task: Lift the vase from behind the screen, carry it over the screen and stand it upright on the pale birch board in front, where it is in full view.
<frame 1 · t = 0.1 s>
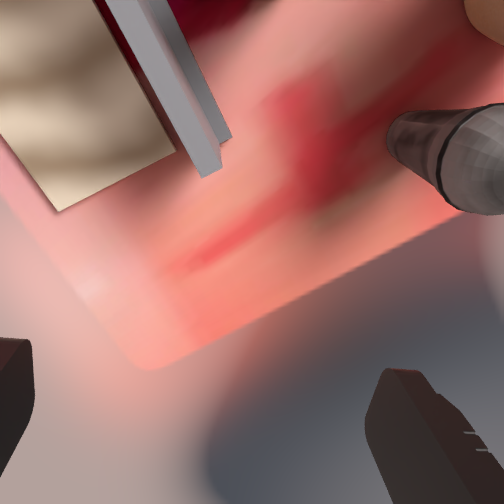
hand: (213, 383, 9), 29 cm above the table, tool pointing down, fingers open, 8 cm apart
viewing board: (48, 69, 32), on the table
screen: (146, 16, 31), on the table
beverage cup: (408, 136, 37), on the table
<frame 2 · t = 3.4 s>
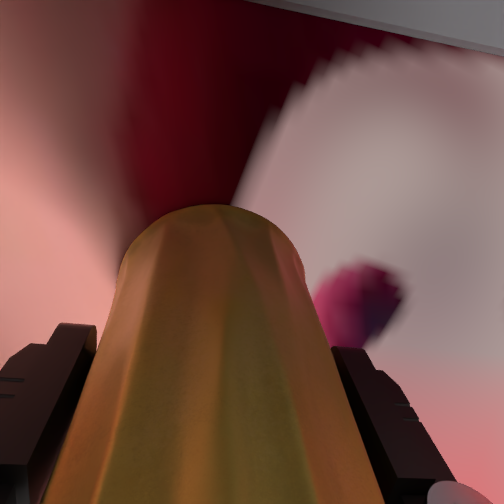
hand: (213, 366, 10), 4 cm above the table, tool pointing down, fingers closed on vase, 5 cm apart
vase: (213, 286, 13), on the table, touching gripper
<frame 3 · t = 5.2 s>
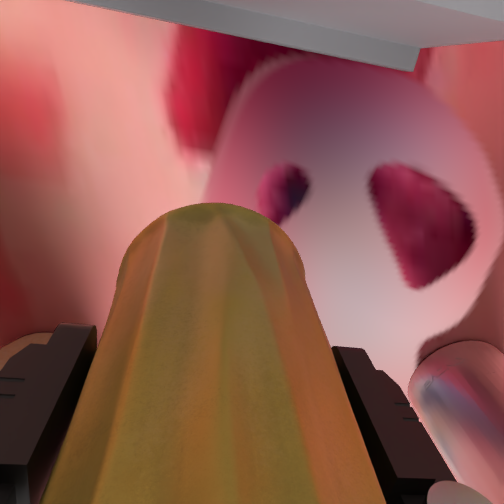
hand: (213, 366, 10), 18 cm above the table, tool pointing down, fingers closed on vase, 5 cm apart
vase: (213, 284, 13), point 14 cm above the table, touching gripper
plant pot: (54, 369, 31), on the table
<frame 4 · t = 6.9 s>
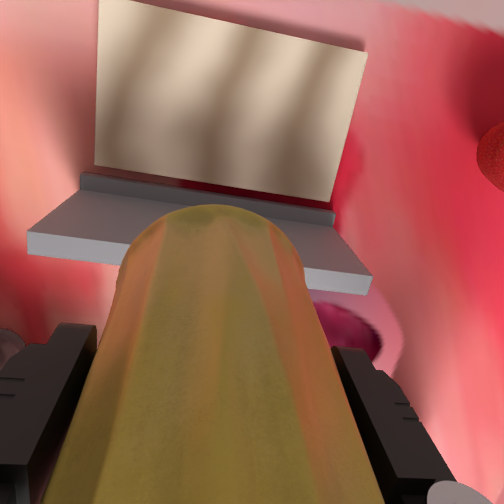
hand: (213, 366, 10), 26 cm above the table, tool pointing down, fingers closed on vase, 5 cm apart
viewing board: (227, 109, 32), on the table
screen: (211, 213, 35), on the table
strawberry: (483, 147, 35), on the table
beverage cup: (3, 346, 39), on the table
vase: (213, 286, 13), point 22 cm above the table, touching gripper
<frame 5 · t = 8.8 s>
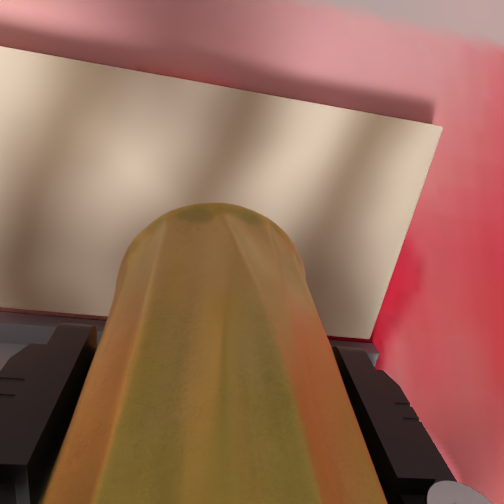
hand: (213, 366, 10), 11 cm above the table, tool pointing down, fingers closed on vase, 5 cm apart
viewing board: (211, 214, 20), on the table
screen: (190, 355, 23), on the table
vase: (213, 285, 13), point 7 cm above the table, touching gripper
when the fingers open (6 cm above the table, at t = 10.4 s): vase drops 1 cm, resting on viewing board.
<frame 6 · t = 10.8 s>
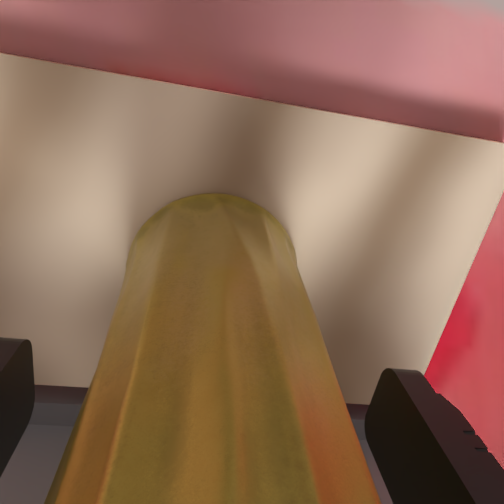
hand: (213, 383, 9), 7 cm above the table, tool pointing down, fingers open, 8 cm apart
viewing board: (212, 257, 15), on the table
screen: (186, 425, 19), on the table
vase: (213, 269, 15), point 1 cm above the table, touching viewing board
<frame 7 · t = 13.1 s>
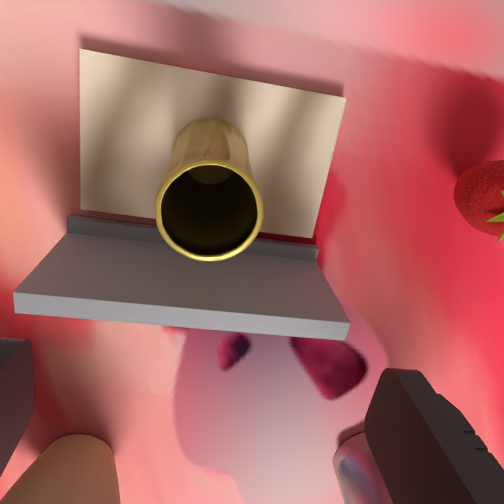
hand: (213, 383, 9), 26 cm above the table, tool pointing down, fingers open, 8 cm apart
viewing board: (210, 152, 33), on the table
screen: (197, 250, 36), on the table
strawberry: (463, 181, 36), on the table
vase: (210, 156, 32), point 1 cm above the table, touching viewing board
plant pot: (82, 455, 46), on the table
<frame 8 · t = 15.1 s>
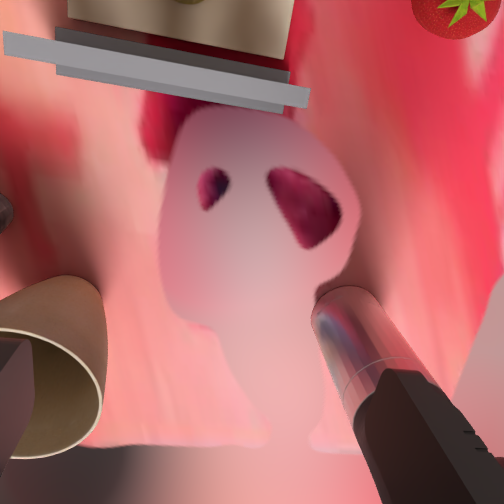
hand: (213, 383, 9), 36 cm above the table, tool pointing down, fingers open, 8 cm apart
screen: (177, 73, 39), on the table
strawberry: (424, 8, 39), on the table
plant pot: (72, 301, 48), on the table
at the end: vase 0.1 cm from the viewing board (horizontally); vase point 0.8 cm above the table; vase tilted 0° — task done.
